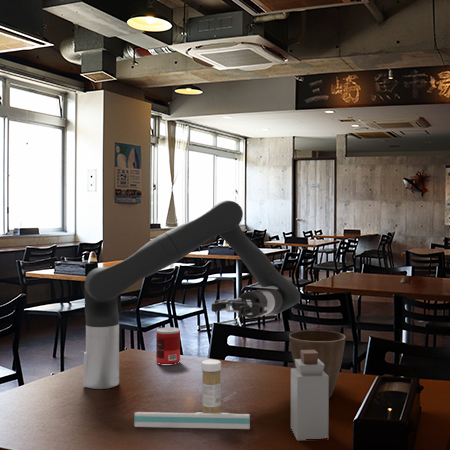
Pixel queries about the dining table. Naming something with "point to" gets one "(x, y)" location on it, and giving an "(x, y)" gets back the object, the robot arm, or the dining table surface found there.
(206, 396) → the sprinkles bottle
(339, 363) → the plant pot
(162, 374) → the dining table surface
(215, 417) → the rail
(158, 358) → the canned food
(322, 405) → the perfume bottle
